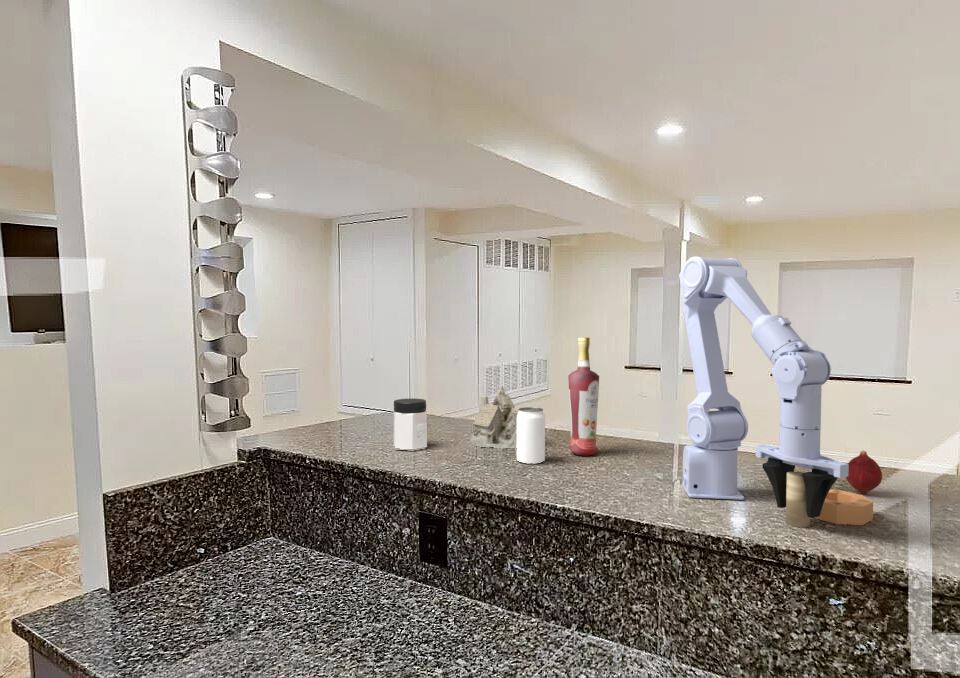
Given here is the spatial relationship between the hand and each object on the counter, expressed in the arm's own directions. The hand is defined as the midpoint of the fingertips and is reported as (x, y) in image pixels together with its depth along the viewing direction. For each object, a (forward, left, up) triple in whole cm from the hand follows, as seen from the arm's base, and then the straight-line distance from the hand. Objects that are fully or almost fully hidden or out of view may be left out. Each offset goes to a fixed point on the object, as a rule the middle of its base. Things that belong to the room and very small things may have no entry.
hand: (798, 511), depth 94 cm
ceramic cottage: (-53, +51, -2) cm, 74 cm away
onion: (+18, +19, -2) cm, 26 cm away
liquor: (-33, +43, -2) cm, 54 cm away
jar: (-76, +43, -2) cm, 87 cm away
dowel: (0, 0, -2) cm, 2 cm away
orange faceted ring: (+8, +5, -2) cm, 10 cm away
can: (-45, +34, -2) cm, 56 cm away
